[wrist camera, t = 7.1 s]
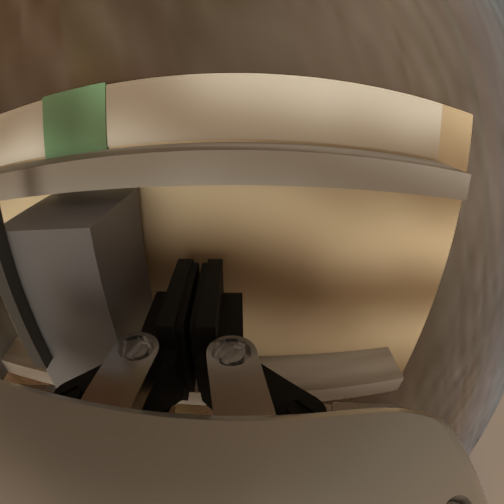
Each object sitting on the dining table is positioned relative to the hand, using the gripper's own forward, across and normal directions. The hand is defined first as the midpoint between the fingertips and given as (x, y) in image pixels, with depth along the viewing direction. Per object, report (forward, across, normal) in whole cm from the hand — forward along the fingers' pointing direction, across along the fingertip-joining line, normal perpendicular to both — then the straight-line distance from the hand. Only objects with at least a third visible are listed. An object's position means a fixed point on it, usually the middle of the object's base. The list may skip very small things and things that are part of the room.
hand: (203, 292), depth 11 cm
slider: (+1, +4, -2) cm, 5 cm away
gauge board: (+3, +2, 0) cm, 3 cm away
